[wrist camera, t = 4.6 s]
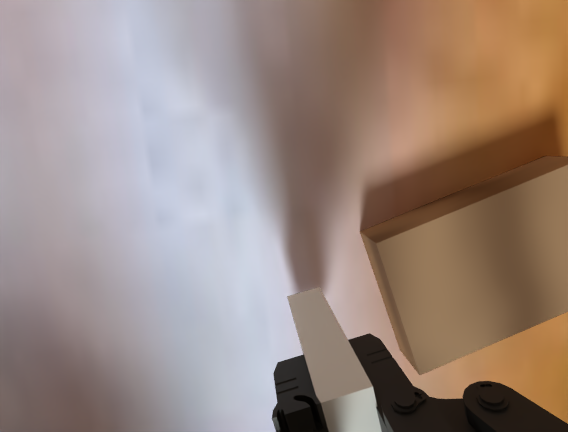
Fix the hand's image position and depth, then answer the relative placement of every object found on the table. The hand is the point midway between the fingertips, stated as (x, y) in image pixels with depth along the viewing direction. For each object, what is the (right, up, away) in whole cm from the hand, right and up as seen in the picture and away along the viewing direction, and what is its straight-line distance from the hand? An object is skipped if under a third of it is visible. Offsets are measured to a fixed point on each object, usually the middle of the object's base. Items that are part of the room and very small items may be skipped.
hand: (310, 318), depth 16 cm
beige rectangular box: (+8, +3, +3) cm, 9 cm away
